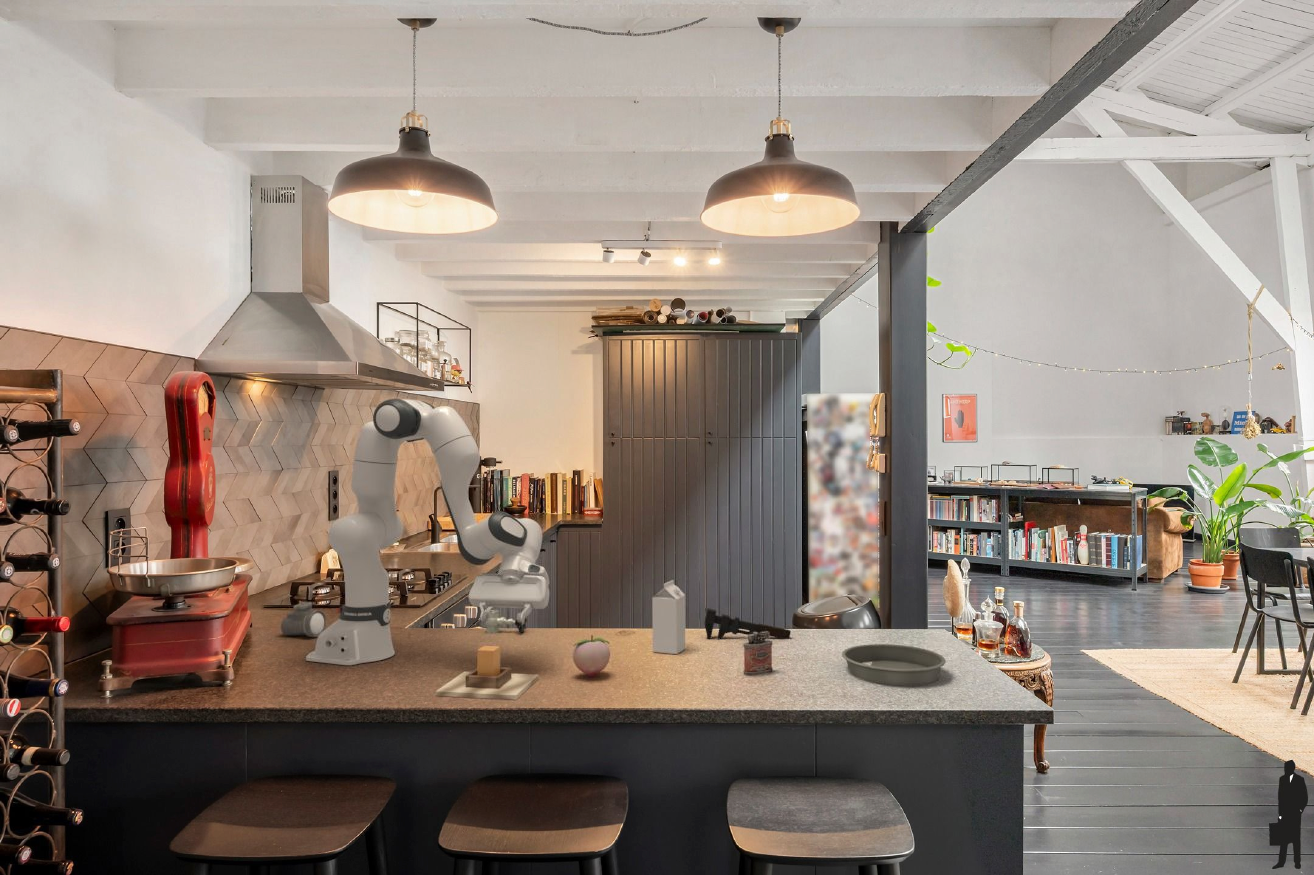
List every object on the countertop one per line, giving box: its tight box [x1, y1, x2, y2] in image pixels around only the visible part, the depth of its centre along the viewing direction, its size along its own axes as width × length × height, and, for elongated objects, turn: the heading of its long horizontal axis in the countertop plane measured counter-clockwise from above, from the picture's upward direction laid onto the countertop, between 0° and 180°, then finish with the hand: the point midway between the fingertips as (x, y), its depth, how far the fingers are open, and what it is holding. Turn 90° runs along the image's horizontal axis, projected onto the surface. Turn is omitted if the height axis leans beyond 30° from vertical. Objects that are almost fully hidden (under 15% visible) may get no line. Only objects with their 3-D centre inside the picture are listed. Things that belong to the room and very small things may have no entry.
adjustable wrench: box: [703, 608, 791, 640], centre depth 226 cm, size 8×3×25 cm
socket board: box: [435, 666, 540, 701], centre depth 179 cm, size 19×16×4 cm
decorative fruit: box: [572, 634, 611, 677], centre depth 187 cm, size 9×8×10 cm
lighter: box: [742, 631, 774, 677], centre depth 190 cm, size 8×3×10 cm, turn 117°
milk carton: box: [651, 579, 686, 655], centre depth 212 cm, size 7×7×19 cm
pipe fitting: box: [280, 601, 328, 638], centre depth 231 cm, size 12×8×10 cm
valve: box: [485, 609, 528, 634], centre depth 234 cm, size 7×7×12 cm
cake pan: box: [841, 643, 946, 687], centre depth 190 cm, size 25×25×4 cm
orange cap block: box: [476, 645, 501, 677], centre depth 179 cm, size 4×4×8 cm
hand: (501, 620), depth 188 cm, fingers open, 8 cm apart
